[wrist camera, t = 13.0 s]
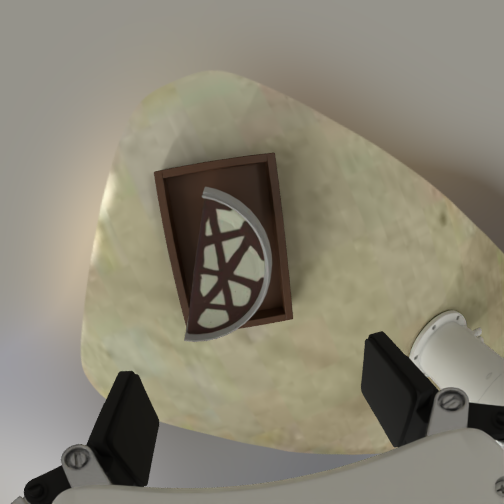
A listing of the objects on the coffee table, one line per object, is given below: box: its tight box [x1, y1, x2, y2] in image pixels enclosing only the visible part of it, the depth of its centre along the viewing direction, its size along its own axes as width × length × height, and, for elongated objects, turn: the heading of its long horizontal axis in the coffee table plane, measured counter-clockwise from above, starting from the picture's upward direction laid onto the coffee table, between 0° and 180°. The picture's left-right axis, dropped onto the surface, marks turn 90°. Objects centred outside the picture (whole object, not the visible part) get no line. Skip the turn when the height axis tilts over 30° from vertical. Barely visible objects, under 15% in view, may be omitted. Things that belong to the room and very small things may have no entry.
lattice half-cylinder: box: [184, 187, 272, 342], centre depth 26 cm, size 12×6×10 cm, turn 170°
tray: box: [154, 153, 293, 329], centre depth 30 cm, size 12×18×3 cm, turn 8°
